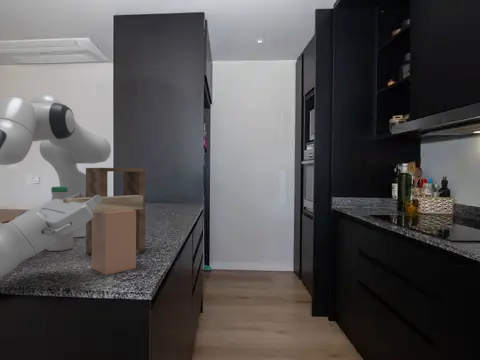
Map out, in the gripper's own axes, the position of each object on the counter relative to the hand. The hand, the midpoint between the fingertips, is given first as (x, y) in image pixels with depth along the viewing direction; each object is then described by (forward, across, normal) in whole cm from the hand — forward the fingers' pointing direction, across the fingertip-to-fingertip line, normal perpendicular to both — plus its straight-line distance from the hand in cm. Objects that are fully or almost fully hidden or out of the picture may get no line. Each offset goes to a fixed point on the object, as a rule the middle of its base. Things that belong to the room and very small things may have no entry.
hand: (91, 196), depth 82 cm
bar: (+1, 0, +5) cm, 5 cm away
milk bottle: (-6, +33, +18) cm, 38 cm away
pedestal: (-4, 0, +19) cm, 20 cm away
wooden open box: (+2, +15, +23) cm, 28 cm away
